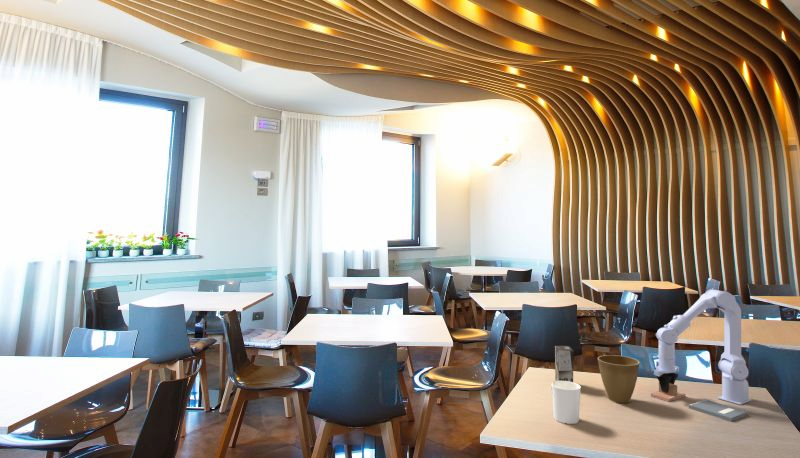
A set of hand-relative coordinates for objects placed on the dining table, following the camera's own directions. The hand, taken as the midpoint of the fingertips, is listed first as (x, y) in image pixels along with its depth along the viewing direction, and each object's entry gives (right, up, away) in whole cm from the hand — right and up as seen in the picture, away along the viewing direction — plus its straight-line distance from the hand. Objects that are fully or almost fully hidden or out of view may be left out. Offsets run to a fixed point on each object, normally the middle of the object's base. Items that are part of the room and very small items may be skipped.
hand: (666, 391), depth 178 cm
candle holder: (-51, -1, -24) cm, 56 cm away
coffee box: (-37, -2, +13) cm, 39 cm away
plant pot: (-22, -2, -5) cm, 23 cm away
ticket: (+9, -2, -16) cm, 18 cm away
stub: (0, -2, 0) cm, 2 cm away
